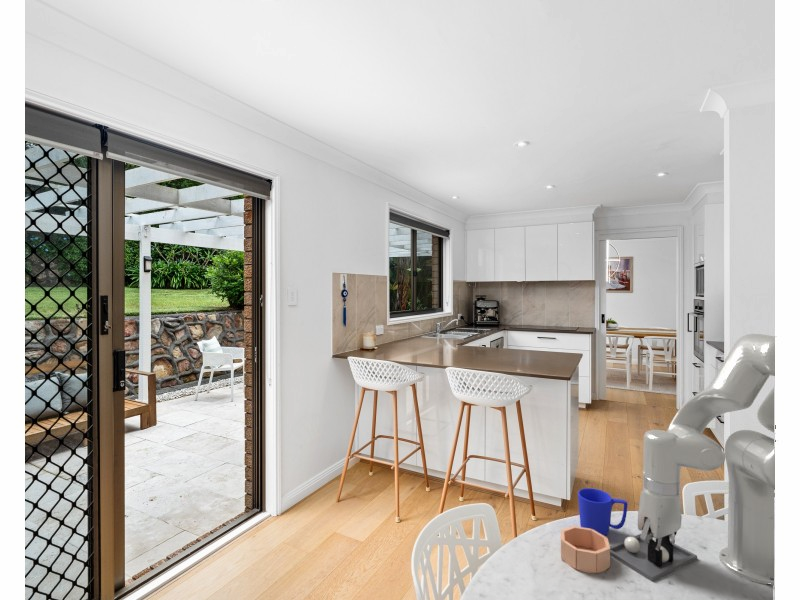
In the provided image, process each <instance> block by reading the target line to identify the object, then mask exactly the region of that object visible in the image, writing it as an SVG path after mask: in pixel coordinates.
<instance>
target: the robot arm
mask: <svg viewBox="0 0 800 600" xmlns="http://www.w3.org/2000/svg"><path fill="white" fill-rule="evenodd" d="M775 337H776V336H775V335H768V334H761V333H750V334H749V333H748V334H745V335H742V336H741V337H739V338H738V339H737V340H736V342H735V343H734V344H733V346H732V347H731V349H730V351H729V352H728V354H727V356H726V357H725V359H724V360H723V363H722V364H721V365H720V367H719V369H718V370H717V372H716V373H715V375H714V377H713V379H712V381H710V383H709V385H708V386H707V387H706V388H704V389H703V390H701V391H699V392H698V393H697V394H695V395H694V396H693V397H692V398H690V399H688V400H687V401H686V402H685V403H683V404H682V406H681V407H680V408H679V409H678V410H677V411H676V414H674V416H673V418H672V420H671V422H670V423H669V426H668V428H667V429H666V430H663V429H662V430H661V429H651V430H647V431H646V432H645V433H644V435H643V448H642V449H643V453H642V454H643V455H642V456H643V459H642V460H643V461H642V463H643V467H642V468H643V469H642V470H643V472H642V488H643V489H641V492H640V496H639V502H638V511H637V512H638V513H637V514H638V515H637V530H639V531H641V533H640V534H641V536H640V539H641V540H643V541H645V542H646V544H647V545H648V561H650V562H651V563H653V564H655V565H657V566H658V567H662V550H661V549H660V548H661V546H662V547H664V548H665V549H666V550H667V551H668V553H669V559H668V561H670V562H672V561H673V545H672V544H676V536H677V534H678V531H679V530H681V527H682V519H683V518H682V516H683V515H682V499H681V468H687V469H692V470H698V471H705V472H708V471H714V470H715V471H716V470H717V469H720V468H721V467H722V466H723V465H724V463H726V467H727V476H728V497H727V498H728V499H727V500H728V503H727V504H728V507H727V508H728V509H727V510H728V511H727V512H728V513H727V514H728V515H727V547H725V548H722V549H721V550H720V551H719V561H720V562H721V564H722V565H723V566H724V567H725V568H727V570H728V571H730V572H732V573H733V574H735V575H737V576H739V577H740V578H743V579H746V580H748V581H750V582H754V583H756V584H757V583H758V584H760V585H765V586H767V585H766V584H768V583H771V585H770V586H771V587H772V586H773V587H775V586H774V497H775V493H774V490H775V454H774V448H775V447H774V438H772V437H771V436H768V435H766V434H764V433H761V432H759V431H755V430H751V429H742V430H736V431H734V432H733V433H731V434H730V435H729V436H728V437H727V439H726V441H725V444H724V445H725V446H724V449H723V448H722V446H721V445H720V444H719V443H718V442H716V440H714V439H713V438H711V437H709V436H707V435H705V434H704V431H705V430H706V428H707V426H708V425H709V424H710V423H711V422H712V421H713V420H714V419H716V418H717V417H719V416H721V415H723V414H726V413H732V412H737V411H742V410H746V409H748V408H750V407H751V406H752V405H753V403H754V402H755V400H756V398H757V397H758V395H759V393H760V392H761V390H762V389H763V387H764V385H765V384H766V382H767V381H768V379H769V377H770V376H771V377H772V376H773V377H775ZM756 413H757V414H756V417H757V420H758V421H759V423H760V425H762V426H763V427H764V428H765V429H767V430H768V431H770V432H772V433H774V386H773V387H772V389H771V390H770V391H769V392H768V394H767V396H765V398H764V400H763V401H762V402H761V405H760V406H759V408H758V410H757V412H756ZM775 429H776V425H775ZM775 442H776V439H775ZM652 537H654V538H656V542H655V541H654V540H653V539H652Z"/></svg>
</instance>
